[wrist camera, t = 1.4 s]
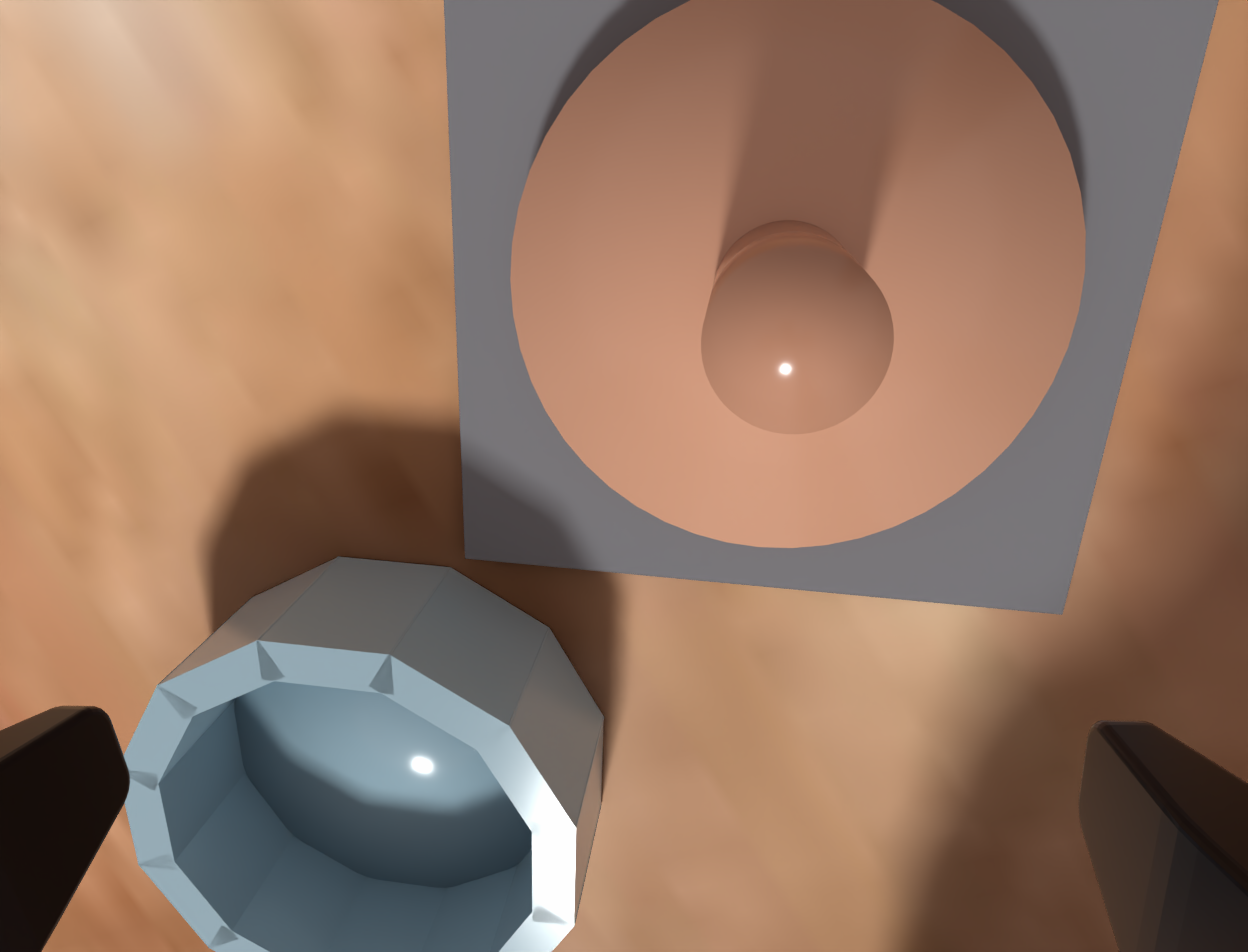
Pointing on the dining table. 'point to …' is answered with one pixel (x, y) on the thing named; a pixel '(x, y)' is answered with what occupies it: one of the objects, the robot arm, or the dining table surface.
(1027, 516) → the mat
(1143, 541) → the dining table surface
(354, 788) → the bowl
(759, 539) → the lid
